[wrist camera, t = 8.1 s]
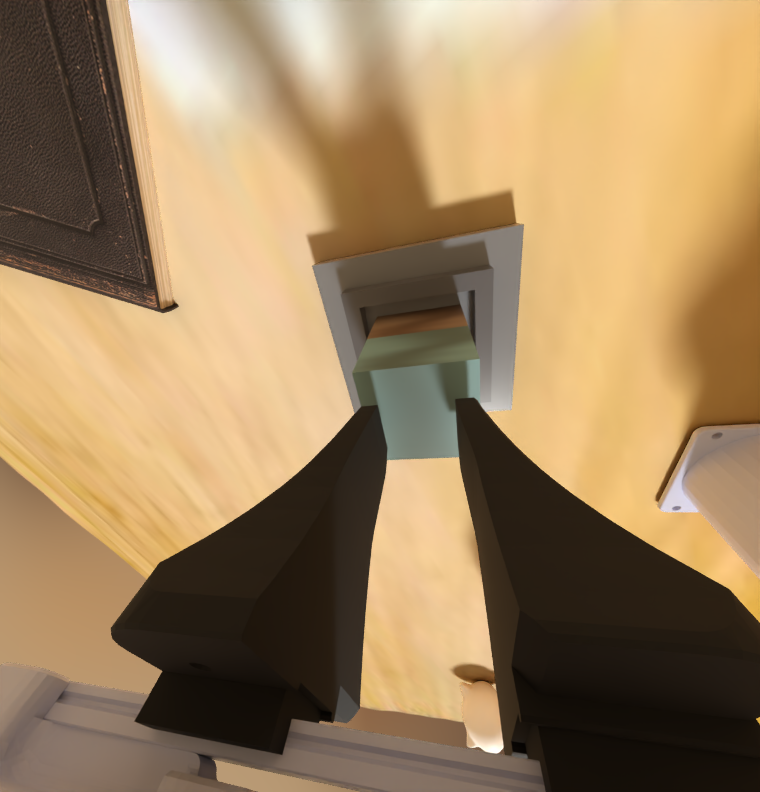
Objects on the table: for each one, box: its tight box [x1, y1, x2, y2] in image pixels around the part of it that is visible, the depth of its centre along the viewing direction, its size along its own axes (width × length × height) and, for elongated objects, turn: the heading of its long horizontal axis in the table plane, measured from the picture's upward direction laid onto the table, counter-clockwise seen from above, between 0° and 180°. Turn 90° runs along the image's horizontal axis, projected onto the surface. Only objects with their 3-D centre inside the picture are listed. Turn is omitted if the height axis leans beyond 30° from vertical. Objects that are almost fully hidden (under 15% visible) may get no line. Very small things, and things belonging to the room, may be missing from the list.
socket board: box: [312, 223, 524, 413], centre depth 16 cm, size 10×10×2 cm
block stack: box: [352, 304, 480, 460], centre depth 14 cm, size 4×4×6 cm
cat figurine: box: [460, 681, 504, 753], centre depth 47 cm, size 9×11×12 cm
